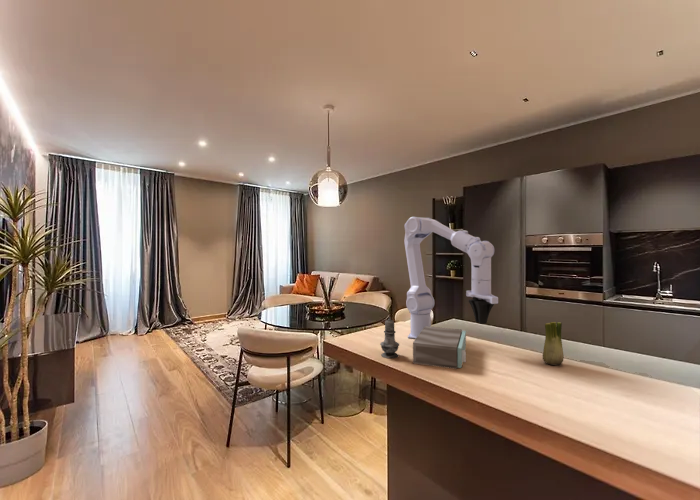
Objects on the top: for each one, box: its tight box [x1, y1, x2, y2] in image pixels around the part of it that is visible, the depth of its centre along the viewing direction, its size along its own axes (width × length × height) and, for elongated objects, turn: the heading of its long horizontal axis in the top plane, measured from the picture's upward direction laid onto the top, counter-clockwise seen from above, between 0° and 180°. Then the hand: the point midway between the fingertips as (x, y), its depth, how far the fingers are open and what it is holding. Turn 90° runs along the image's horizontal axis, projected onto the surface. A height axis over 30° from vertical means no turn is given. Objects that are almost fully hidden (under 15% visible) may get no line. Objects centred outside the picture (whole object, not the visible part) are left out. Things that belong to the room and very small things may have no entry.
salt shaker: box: [379, 316, 400, 360], centre depth 100 cm, size 6×6×12 cm
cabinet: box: [412, 326, 463, 370], centre depth 101 cm, size 20×12×6 cm, turn 157°
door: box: [457, 329, 467, 369], centre depth 98 cm, size 20×2×5 cm, turn 157°
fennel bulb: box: [542, 321, 565, 366], centre depth 92 cm, size 6×5×12 cm
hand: (481, 322), depth 102 cm, fingers closed
